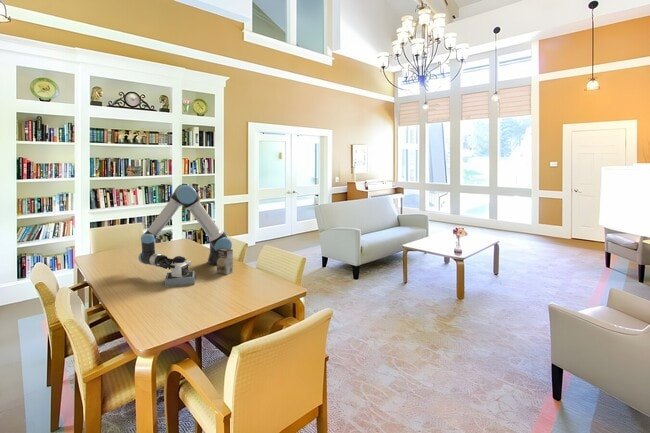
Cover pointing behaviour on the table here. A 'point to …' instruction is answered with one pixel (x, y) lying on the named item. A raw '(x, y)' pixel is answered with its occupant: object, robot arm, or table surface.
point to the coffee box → (224, 261)
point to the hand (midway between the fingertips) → (185, 265)
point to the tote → (180, 279)
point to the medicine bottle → (183, 267)
